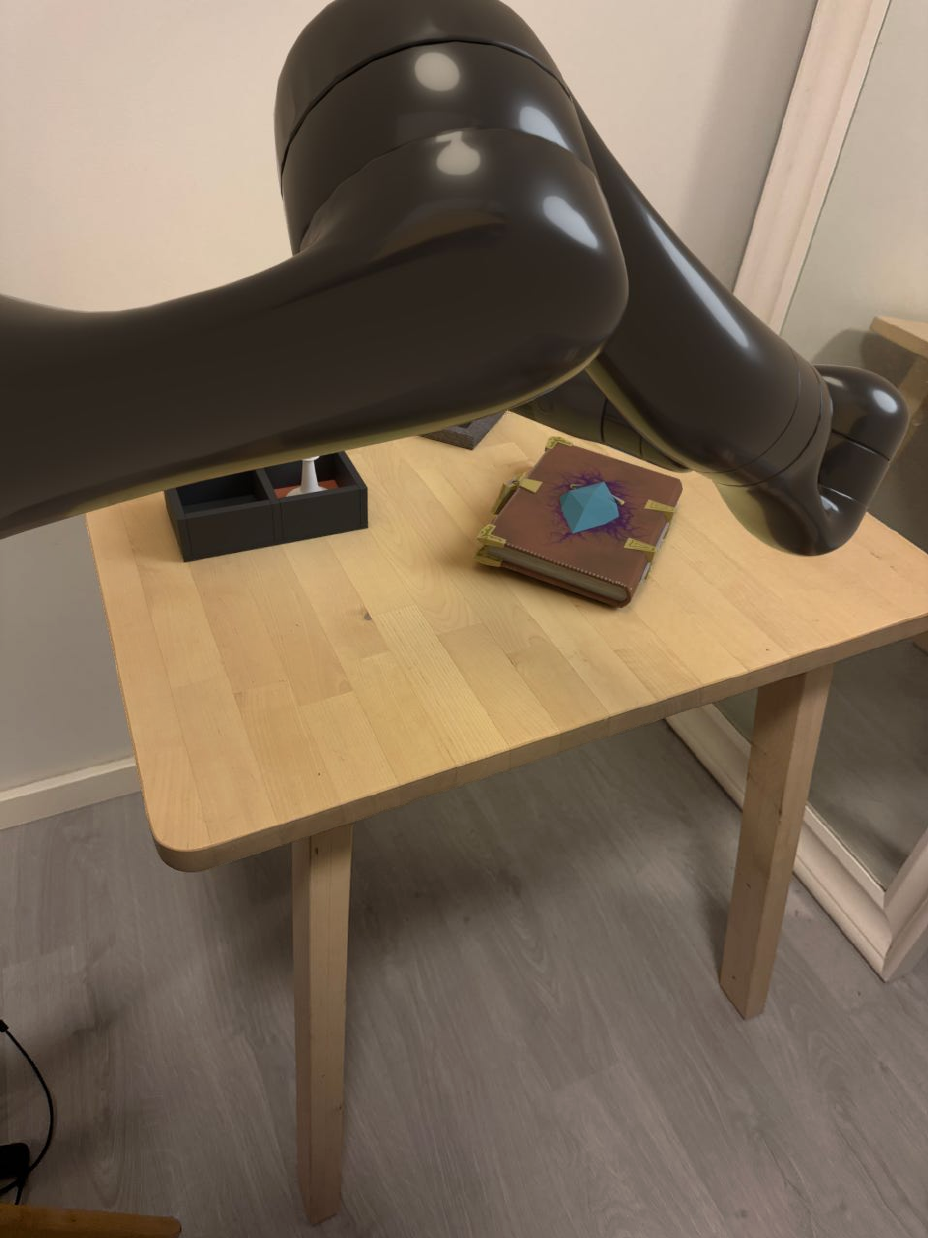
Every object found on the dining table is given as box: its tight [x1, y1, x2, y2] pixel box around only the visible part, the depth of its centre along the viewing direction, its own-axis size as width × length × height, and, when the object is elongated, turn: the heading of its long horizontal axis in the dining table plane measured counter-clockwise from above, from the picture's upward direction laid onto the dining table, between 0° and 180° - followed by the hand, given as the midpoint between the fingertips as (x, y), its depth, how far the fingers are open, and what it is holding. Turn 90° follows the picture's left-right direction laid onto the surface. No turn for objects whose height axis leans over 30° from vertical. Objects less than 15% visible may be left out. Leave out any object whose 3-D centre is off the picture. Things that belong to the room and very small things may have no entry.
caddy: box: [163, 451, 369, 563], centre depth 85 cm, size 17×9×4 cm, turn 113°
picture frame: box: [418, 411, 507, 451], centre depth 106 cm, size 13×2×18 cm
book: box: [472, 435, 684, 609], centre depth 88 cm, size 16×25×5 cm, turn 157°
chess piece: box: [286, 456, 328, 497], centre depth 84 cm, size 5×5×10 cm
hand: (373, 297), depth 64 cm, fingers open, 8 cm apart
